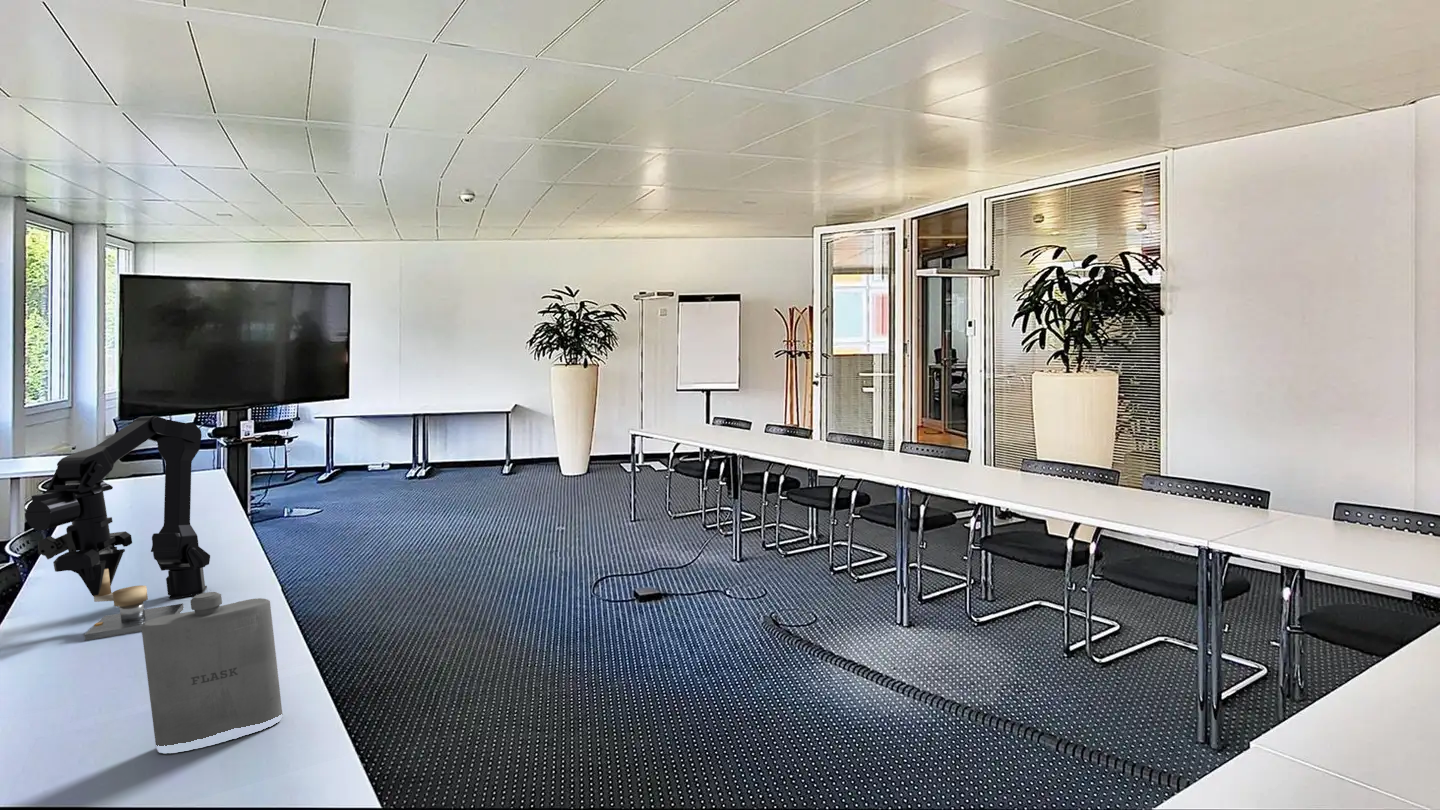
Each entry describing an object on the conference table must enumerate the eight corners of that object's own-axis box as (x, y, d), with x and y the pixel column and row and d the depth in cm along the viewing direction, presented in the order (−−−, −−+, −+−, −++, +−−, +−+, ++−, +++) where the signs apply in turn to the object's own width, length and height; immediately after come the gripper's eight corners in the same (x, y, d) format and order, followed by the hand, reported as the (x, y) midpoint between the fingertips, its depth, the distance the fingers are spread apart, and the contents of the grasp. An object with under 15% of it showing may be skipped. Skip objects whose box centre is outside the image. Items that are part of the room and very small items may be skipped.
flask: (155, 762, 105) (136, 612, 104) (157, 745, 110) (140, 601, 109) (284, 727, 113) (269, 587, 112) (281, 712, 118) (266, 578, 117)
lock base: (183, 608, 175) (181, 588, 175) (169, 626, 163) (167, 605, 163) (105, 621, 169) (102, 600, 169) (84, 640, 158) (82, 618, 157)
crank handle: (154, 597, 168) (150, 564, 168) (133, 605, 163) (129, 572, 162) (107, 599, 169) (103, 567, 168) (85, 608, 163) (80, 574, 163)
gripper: (67, 511, 170) (79, 583, 172) (15, 533, 152) (29, 613, 154) (127, 505, 173) (138, 575, 175) (83, 525, 155) (96, 604, 157)
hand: (101, 591), depth 165 cm, fingers open, 4 cm apart
